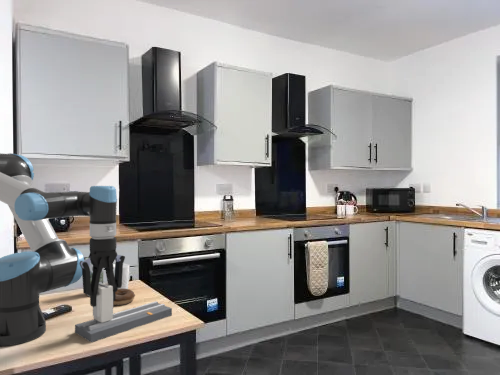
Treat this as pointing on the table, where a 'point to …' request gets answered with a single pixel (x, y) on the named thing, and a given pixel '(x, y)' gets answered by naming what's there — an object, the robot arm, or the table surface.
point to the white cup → (124, 275)
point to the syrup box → (92, 273)
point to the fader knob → (105, 303)
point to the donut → (123, 296)
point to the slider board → (123, 321)
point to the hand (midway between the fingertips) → (103, 314)
